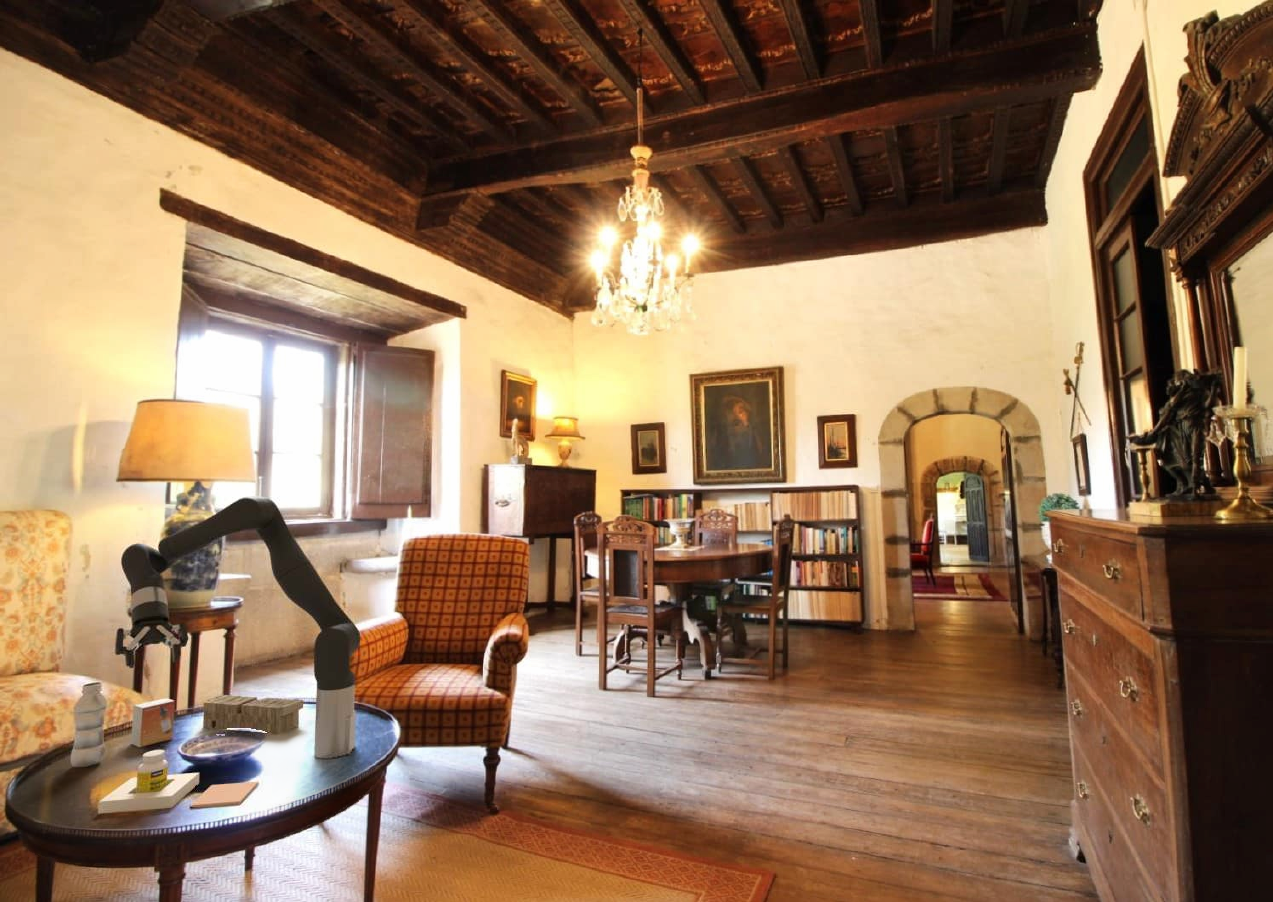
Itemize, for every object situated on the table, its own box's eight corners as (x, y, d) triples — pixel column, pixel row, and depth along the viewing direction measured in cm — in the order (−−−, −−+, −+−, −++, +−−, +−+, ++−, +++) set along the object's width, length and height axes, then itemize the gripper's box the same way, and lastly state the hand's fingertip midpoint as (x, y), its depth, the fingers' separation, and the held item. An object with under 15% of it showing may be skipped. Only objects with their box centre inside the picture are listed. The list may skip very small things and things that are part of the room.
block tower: (198, 731, 186) (283, 735, 180) (199, 702, 187) (283, 705, 180) (221, 722, 194) (303, 726, 187) (221, 694, 194) (303, 696, 188)
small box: (139, 748, 171) (141, 708, 171) (130, 744, 174) (132, 704, 174) (173, 738, 177) (175, 700, 178) (164, 734, 180) (166, 697, 181)
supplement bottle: (149, 804, 139) (152, 758, 139) (129, 802, 140) (131, 756, 140) (172, 793, 144) (174, 749, 145) (152, 791, 145) (154, 747, 146)
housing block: (198, 783, 149) (199, 772, 149) (171, 807, 137) (172, 795, 137) (131, 788, 146) (132, 777, 147) (98, 813, 135) (98, 801, 135)
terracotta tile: (258, 783, 149) (258, 781, 149) (240, 803, 139) (240, 801, 139) (211, 787, 147) (211, 784, 147) (189, 808, 137) (189, 805, 137)
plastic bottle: (106, 764, 160) (111, 683, 161) (70, 773, 155) (76, 689, 156) (102, 757, 164) (107, 679, 166) (67, 765, 159) (73, 684, 161)
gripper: (116, 602, 156) (119, 659, 147) (186, 597, 166) (192, 649, 157) (111, 621, 159) (114, 677, 150) (180, 615, 169) (186, 667, 160)
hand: (154, 663), depth 153 cm, fingers open, 8 cm apart
